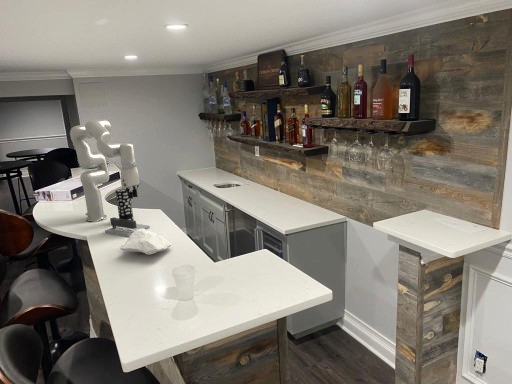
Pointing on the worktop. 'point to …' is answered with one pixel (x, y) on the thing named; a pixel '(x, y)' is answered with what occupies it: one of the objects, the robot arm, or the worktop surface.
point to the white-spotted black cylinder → (124, 205)
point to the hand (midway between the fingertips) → (132, 197)
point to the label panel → (125, 230)
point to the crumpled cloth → (145, 242)
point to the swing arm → (123, 223)
